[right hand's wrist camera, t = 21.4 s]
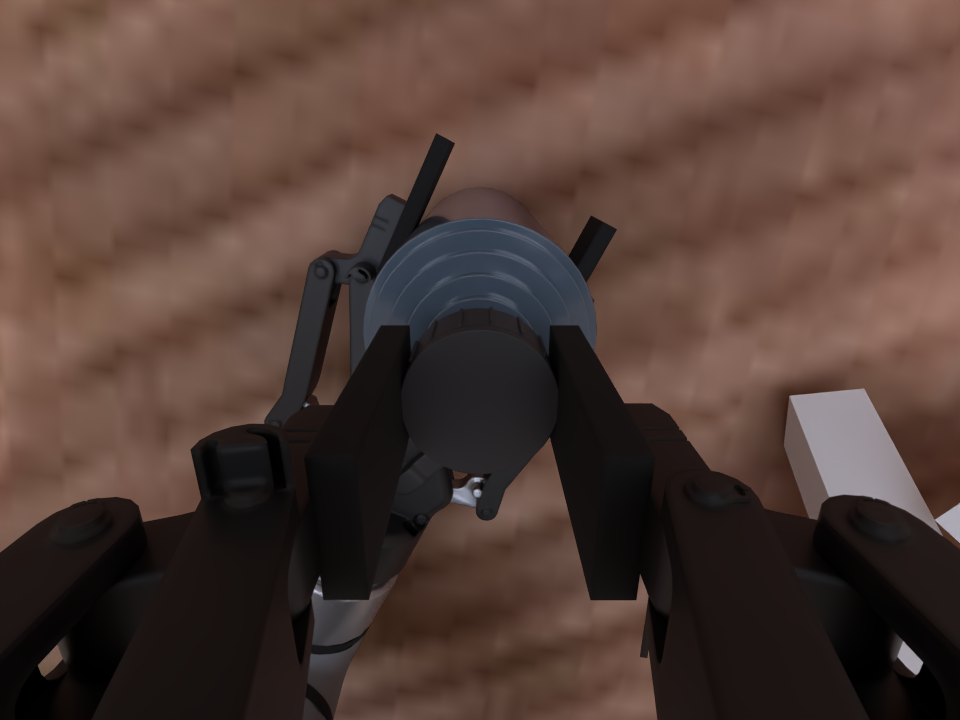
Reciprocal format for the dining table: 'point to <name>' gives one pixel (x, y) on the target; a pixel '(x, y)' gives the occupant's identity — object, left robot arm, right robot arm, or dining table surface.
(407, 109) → the dining table surface
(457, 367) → the cap
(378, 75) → the dining table surface
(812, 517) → the pile of blocks
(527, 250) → the bottle
